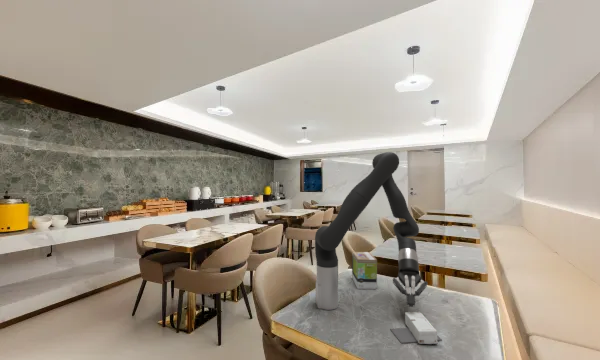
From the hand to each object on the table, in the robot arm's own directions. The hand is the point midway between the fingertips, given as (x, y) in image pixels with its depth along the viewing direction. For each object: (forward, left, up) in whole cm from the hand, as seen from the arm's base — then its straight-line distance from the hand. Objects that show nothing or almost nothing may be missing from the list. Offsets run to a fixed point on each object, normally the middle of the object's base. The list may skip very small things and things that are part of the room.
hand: (411, 305), depth 93 cm
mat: (-2, -5, -7) cm, 9 cm away
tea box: (-3, +41, -8) cm, 42 cm away
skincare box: (+1, +1, -5) cm, 5 cm away
